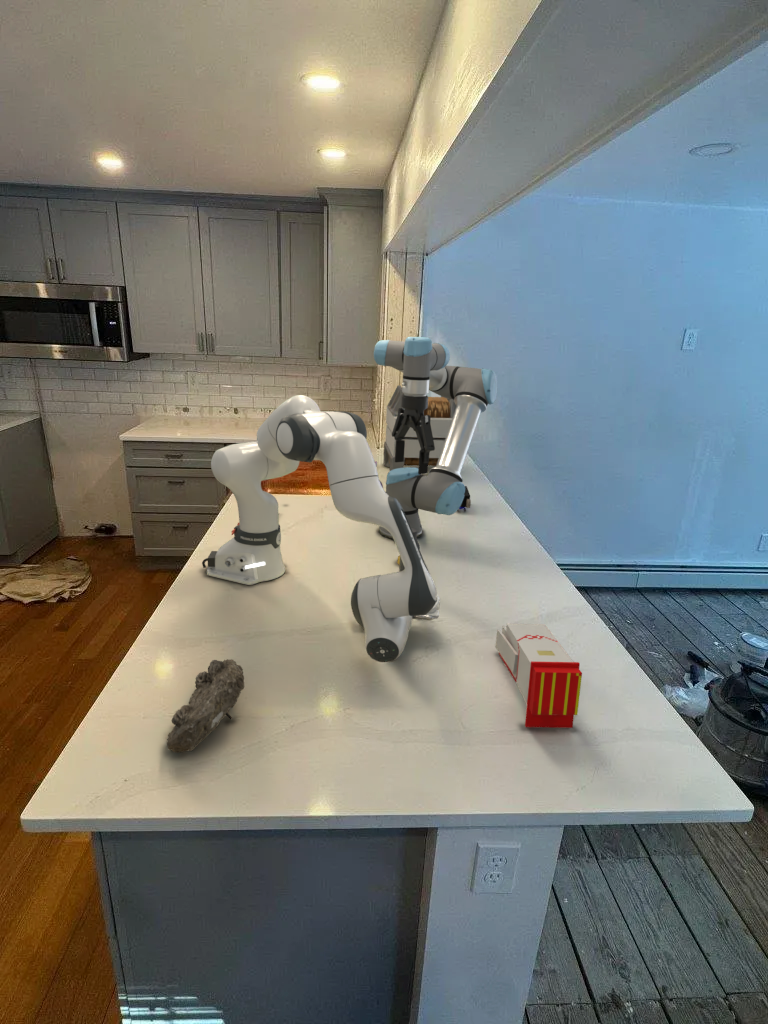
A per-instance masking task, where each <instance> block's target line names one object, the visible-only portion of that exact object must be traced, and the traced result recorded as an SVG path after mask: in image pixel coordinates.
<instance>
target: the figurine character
mask: <svg viewBox="0 0 768 1024" xmlns="http://www.w3.org/2000/svg"><path fill="white" fill-rule="evenodd" d="M464 486H465V493H464V499H463V501H462V504H461V506H460V507H459V509H458V510H457V511H456V512H460V510H463V511H464V513H466V512H467V509H470V508H471V505H472V504H471V501H472V500H471V494H470V491H469V488H468V486H467V485H464ZM466 508H467V509H466Z"/></svg>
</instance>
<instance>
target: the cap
mask: <svg viewBox="0 0 768 1024" xmlns="http://www.w3.org/2000/svg"><path fill="white" fill-rule="evenodd" d="M396 561H397V563H396V564H397V565H400V554H399V555H397V560H396Z"/></svg>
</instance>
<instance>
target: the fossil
mask: <svg viewBox="0 0 768 1024" xmlns="http://www.w3.org/2000/svg"><path fill="white" fill-rule="evenodd" d="M243 670H244V669H243V667H242V665H240V664H237V662H236V661H235V660H234V659H232V658H231V659H227V658H226V659H224V660H223V661H222V660H217V659H212V660H211V661H210V663H209V665H208V666H207V671H201V672H199V673H198V674H197V675H196V676H195V680H194V684H195V685H194V687H195V689H194V690H193V693H192V694H191V697H190V698H189V700H188V704H184V705H182V706H181V707H180V709H177V710H176V711H175V713H174V715H173V716H172V718H171V723H172V724H173V727H172V730H171V731H170V732H168V734H167V738H166V741H167V742H166V745H167V749H168V750H169V751H173V752H174V753H176V754H178V753H182V752H188V751H189V752H192V751H193V750H195V748H196V747H197V746H199V744H200V743H201V742H203V741H204V740H205V739H206V738H207V737H208V736H209V735H210V734H211V733H212V732H214V730H215V729H217V727H218V726H219V724H220V722H221V721H222V720H223V719H224V718H225V716H226V717H227V719H229V720H233V717H232V715H230V714H229V710H230V709H231V708H234V706H235V704H236V703H237V702H238V699H239V697H240V695H241V693H242V691H243V690H245V689H244V688H245V675H244V671H243Z"/></svg>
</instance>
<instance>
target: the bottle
mask: <svg viewBox="0 0 768 1024" xmlns="http://www.w3.org/2000/svg"><path fill="white" fill-rule="evenodd" d="M411 529H412V532H413V534H414V537H415V539H416V542H417V544H418V547H419V550H420V551H421V545H420V542H419V540H418V538H417V530H416V529H414V528H411ZM398 568H399V569H398V572H400V571H403V570H404V569H405V567H404V564H403V562H402V559H401V557H400V565H399V567H398Z"/></svg>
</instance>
